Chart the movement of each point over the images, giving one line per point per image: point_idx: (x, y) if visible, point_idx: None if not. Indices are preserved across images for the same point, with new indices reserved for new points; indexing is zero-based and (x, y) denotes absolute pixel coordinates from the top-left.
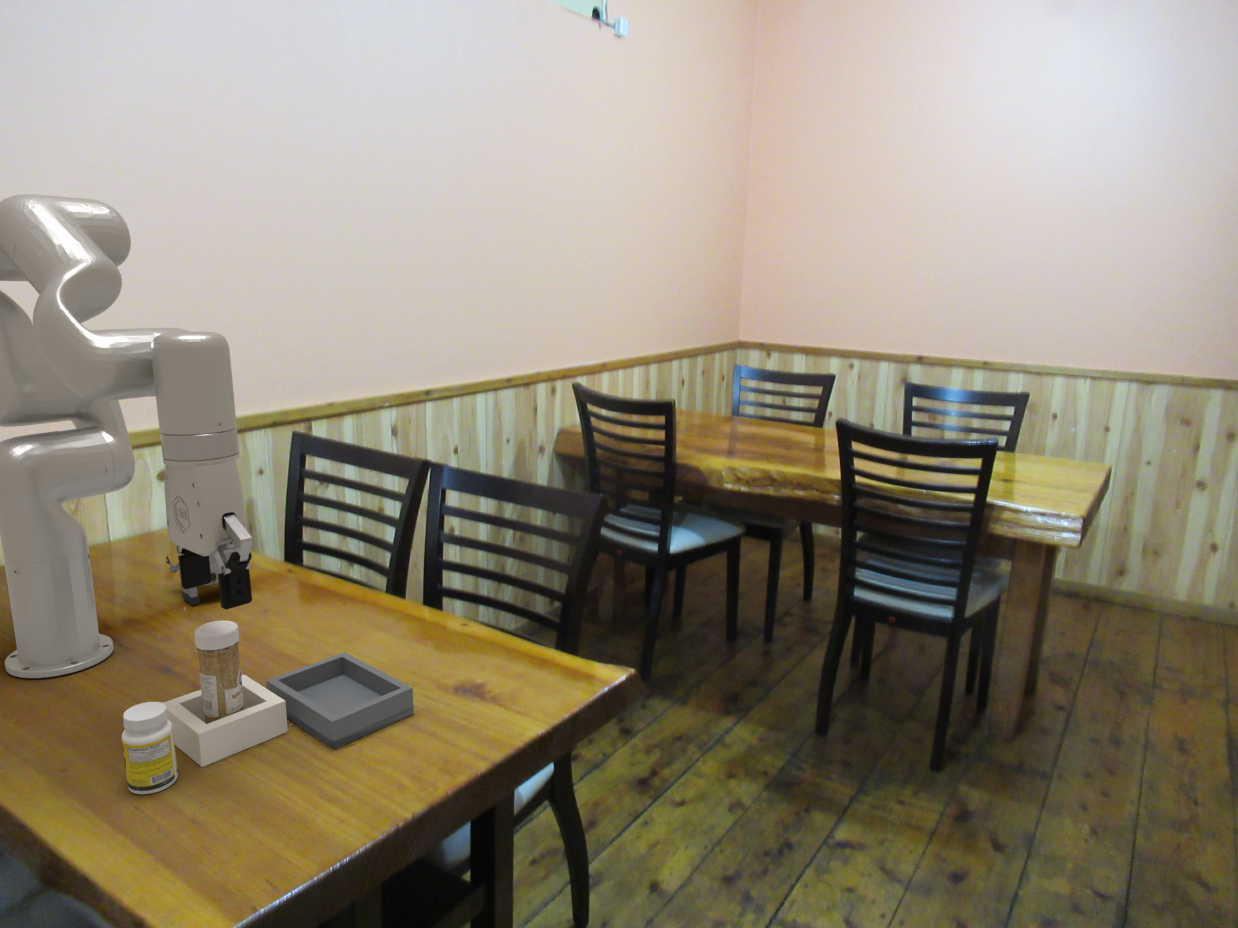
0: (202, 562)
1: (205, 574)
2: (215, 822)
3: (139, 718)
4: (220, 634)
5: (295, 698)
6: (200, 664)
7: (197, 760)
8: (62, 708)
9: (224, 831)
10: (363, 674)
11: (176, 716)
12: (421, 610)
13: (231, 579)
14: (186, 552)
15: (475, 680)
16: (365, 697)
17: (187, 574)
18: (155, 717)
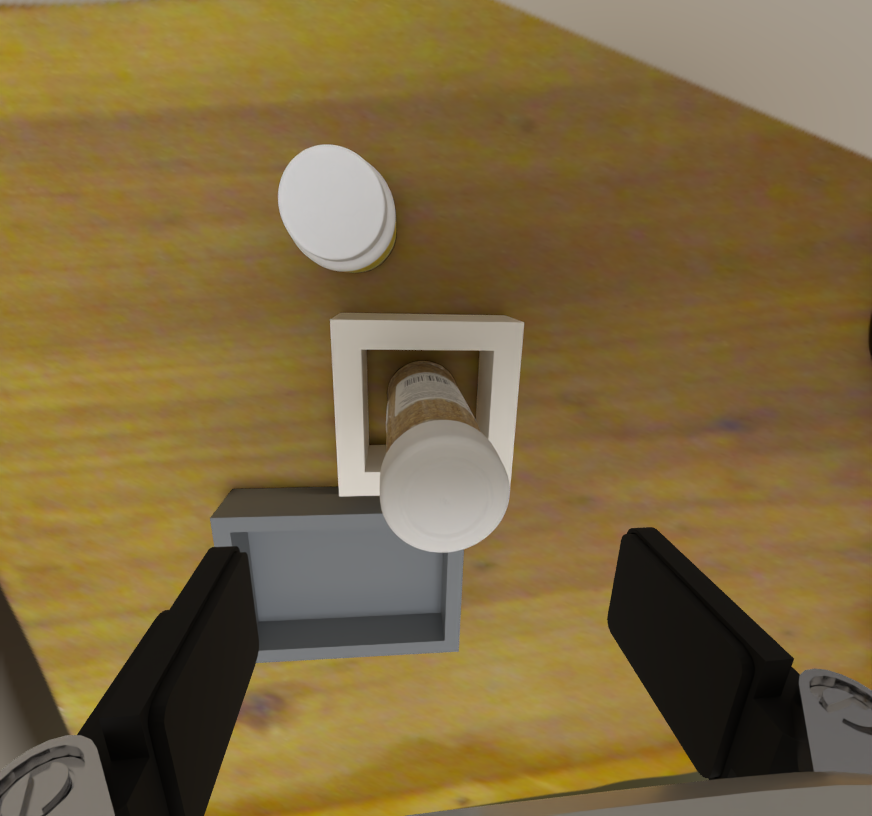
0: (674, 697)
1: (632, 642)
2: (141, 246)
3: (294, 171)
4: (383, 486)
5: (350, 514)
6: (436, 406)
7: (356, 313)
8: (762, 225)
9: (102, 243)
10: (372, 633)
11: (441, 321)
12: (564, 785)
13: (83, 726)
14: (774, 714)
15: (280, 727)
16: (333, 598)
17: (661, 589)
18: (280, 210)
